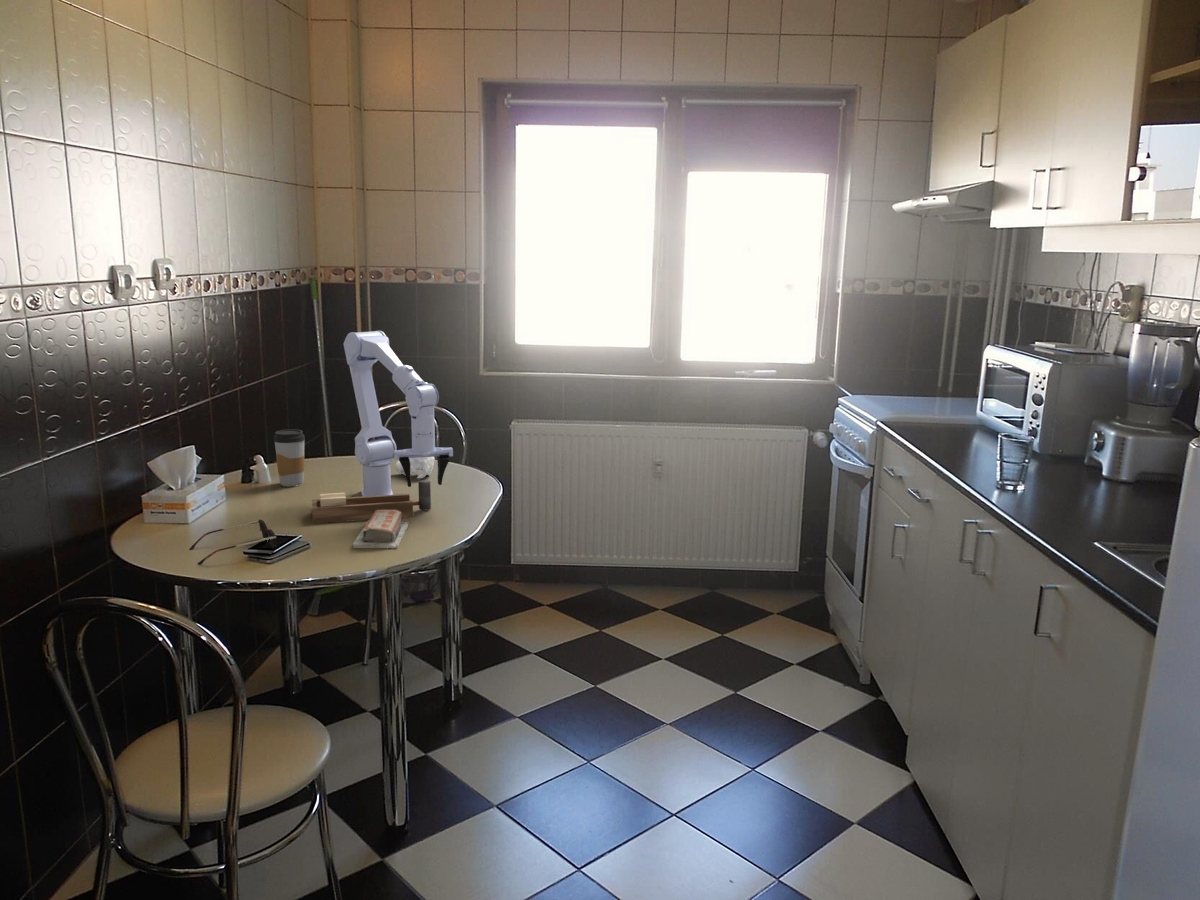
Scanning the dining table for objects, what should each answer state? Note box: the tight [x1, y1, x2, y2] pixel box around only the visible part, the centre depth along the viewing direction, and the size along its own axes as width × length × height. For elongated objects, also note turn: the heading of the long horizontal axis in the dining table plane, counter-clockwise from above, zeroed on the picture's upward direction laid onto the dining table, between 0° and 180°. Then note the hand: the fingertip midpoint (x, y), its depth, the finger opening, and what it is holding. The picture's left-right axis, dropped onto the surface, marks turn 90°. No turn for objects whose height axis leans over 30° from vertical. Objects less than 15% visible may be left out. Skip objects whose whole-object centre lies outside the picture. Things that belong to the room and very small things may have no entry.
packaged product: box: [352, 509, 410, 550], centre depth 209 cm, size 18×5×10 cm
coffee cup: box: [273, 428, 306, 487], centre depth 251 cm, size 8×8×15 cm
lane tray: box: [311, 493, 414, 524], centre depth 226 cm, size 10×24×4 cm, turn 108°
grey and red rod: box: [319, 479, 432, 511], centre depth 226 cm, size 5×27×7 cm, turn 108°
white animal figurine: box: [394, 457, 436, 479], centre depth 264 cm, size 6×8×12 cm
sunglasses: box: [188, 519, 277, 565], centre depth 197 cm, size 14×16×5 cm
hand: (424, 484), depth 229 cm, fingers open, 7 cm apart
